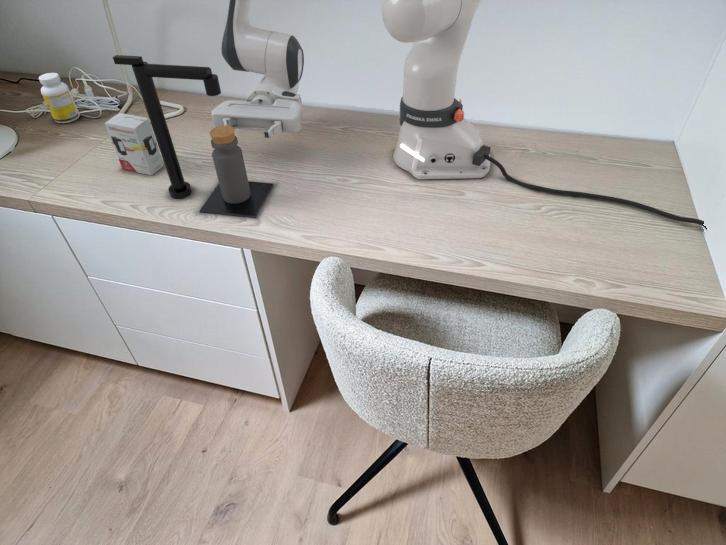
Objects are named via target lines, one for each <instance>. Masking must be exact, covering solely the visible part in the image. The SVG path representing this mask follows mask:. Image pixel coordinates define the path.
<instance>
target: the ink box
mask: <svg viewBox="0 0 726 545" xmlns="http://www.w3.org/2000/svg"><path fill="white" fill-rule="evenodd" d="M104 126H105V128H106V130H107V134H108V136H109V139H110V141H111V143H112V146H113V149H114V152H115V154H116V157H117V159H118V161H119V165H120V166H121V169H122V170H124V171H128V172H133V173H138V174H143V175H148V176H153V175H154V174H156V173H157V172H158V171H160V170H161V169H162V168H163V167H165V164H164V161H163V158H162V155H161V152H160V149H159V146H158V143H157V140H156V137H155V134H154V131H153V128H152V125H151V122H150V119H149V118H148V117H144V116H138V115H134V114H128V113H123V112H119V113H117V114H115V115H114V116H112V117H111V118H109V119H108V120H106V121H104Z"/></svg>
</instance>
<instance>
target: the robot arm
mask: <svg viewBox="0 0 726 545" xmlns="http://www.w3.org/2000/svg"><path fill="white" fill-rule="evenodd" d="M252 2H253V0H229V3H228V10H227V16H226V23H225V27H224V31H223V35H222V40H221V48H220V49H221V50H220V51H221V55H222V57H223V59H224V61H225V62H226V64H227V65H228V66H229V67H230V68H231V69H232V70H233V71H238V72H245V73H247V72H250V73H253V74H259V75H264V76H263V77H262V78H261V80H260V81H259V83H258V84H257V85H256V86H255V87H254V88H253V90H251V92H250V93H249V95H248V96H247V98H246V100H236V99H235V100H232V99H228V100H225V101H222V102H221V103H220V104H219V103H218V105H217V106H215V107H214V108H213V109H212V111H211V113H210V115H211V120H212V123H213V125H214V128H215V127H218V126H231V127H233V128H234V130H246V131H247V130H248V131H259V132H260V131H261V132H263V135H264V138H265V139H271V140H272V139H273V137H274V136H276V135H279V134H281V133H285V134H287V133H288V134H296V133H299V132H300V131H301V129H302V128H303V124H304V122H303V121H304V109H303V102H302V97H301V95H300V94H299V93H298V91H299V86H300V81H301V79H302V76H303V73H304V66H305V56H304V49H303V48H302V46H301V44H300V42H299V40H298V39H297V37H295V36H294V35H291V34H288V33H284V32H279V31H273V30H267V29H263V28H259V27H255V26H252V25H251V23H250V22H249V21H250V20H249V19H250V14H251V8H252ZM482 3H483V0H382V3H381V18H382V21H383V25H384V27H385V29H386V31H387V33H388V34H389V35H390V36H391V37H392V38H393V39H394V40H396V41H398V42H400V43H406V44H407V43H413V44H412V46H411V48H410V50H409V52H408V53H407V55H406V57H405V60H404V64H403V76H402V77H403V78H402V96H401V98H400V102H399V111H398V120H399V125H400V126H399V133H398V137H397V142H396V145H395V149H394V151H393V154H392V159H393V162H394V163H395V164H396V165H397V166H398V167H399V168H401V169H402V170H405V171H407V172H408V173H410V174H411V175H412V176H413V177H414V178H415V179H417V180H453V179H456V180H457V179H460V180H461V179H481V178H484V177H485V176H487V175H488V173H489V171H490V169H491V163H492V164H493V165H495V166H496V167H497V168H498V169H499V170H500V173H501V174H502V176H503V177H504V178H505V179H506V180H508V181H509V182H511V183H513V184H516V185H518V186H520V187H523V188H527V189H529V190H536V191H540V192H544V193H548V194H554V195H555V194H556V195H563V196H573V197H582V198H588V199H595V200H601V201H608V202H614V203H617V204H622V205H626V206H631V207H635V208H638V209H641V210H644V211H646V212H647V211H648V212H650V213H653V214H656V215H659V216H661V217H664V218H667V219H671V220H674V221H676V222H677V221H678V222H683V223H690V224H696V225H700V226H702V227H703V228H704V229H705V230H706V231H707V228H706V226H704V225H703V224H704V220H703V219H700V218H694V217H686V216H680V215H677V214H673V213H670V212H668V211H664V210H661V209H658V208H656V207H653V206H650V205H646V204H645V203H644V204H643V203H640V202H637V201H633V200H628V199H624V198H620V197H615V196H609V195H603V194H597V193H590V192H584V191H583V192H582V191H575V190H574V191H573V190H565V189H557V188H550V187H546V186H541V185H536V184H532V183H528V182H527V183H526V182H523V181H520V180H518V179H516V178H514V177H512V176H511V175H509V174H508V173H507V170H506V169H505V167H504V165H503V164H501V163H500V162H499V161H498V160H496V159H495V158H494V157H491V148H492V147H491V146H488V145H484V143H483V137H482V135H481V132H480V130H479V129H478V127H476V126H475V125H474V124H472V122H470V121H468V120H467V119H466V118H465V111H464V110H463V109H464V107H463V106H464V105H463V103H462V102H463V101H462V98H459V100H458V99H457V98H455V95H456V88H457V87H456V85H457V79H458V72H459V66H460V61H461V56H462V54H463V50H464V47H465V44H466V41H467V38H468V35H469V32H470V29H471V26H472V23H473V21H474V17H475V15H476V13H477V11H478V10H479V8H480V6H481V4H482Z"/></svg>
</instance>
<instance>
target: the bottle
mask: <svg viewBox="0 0 726 545" xmlns="http://www.w3.org/2000/svg"><path fill="white" fill-rule="evenodd" d="M235 132H236V129H234V128H233V127H231V126H218V127H215V126H214V127H213V128H211V130H209V135H210V138H211V140H210V144H211V147H212V149H213V150H212V152H211V156H212V160H213V165H214V170H215V172H216V176H217V180H218V184H219V185H220V188H221V192H222V196H223V199H224V201H226V202H227V203H231V204H237V203H242V202H244V201H246V200H247V199H249V197H250V195H251V194H250V188H249V183H248V181H249V178H248V174H247V168H246V164H245V159H244V155H243V150H242V148H241V147H240V146H239V145H238V144H239V140H238V137H237V136H236V134H235Z"/></svg>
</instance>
